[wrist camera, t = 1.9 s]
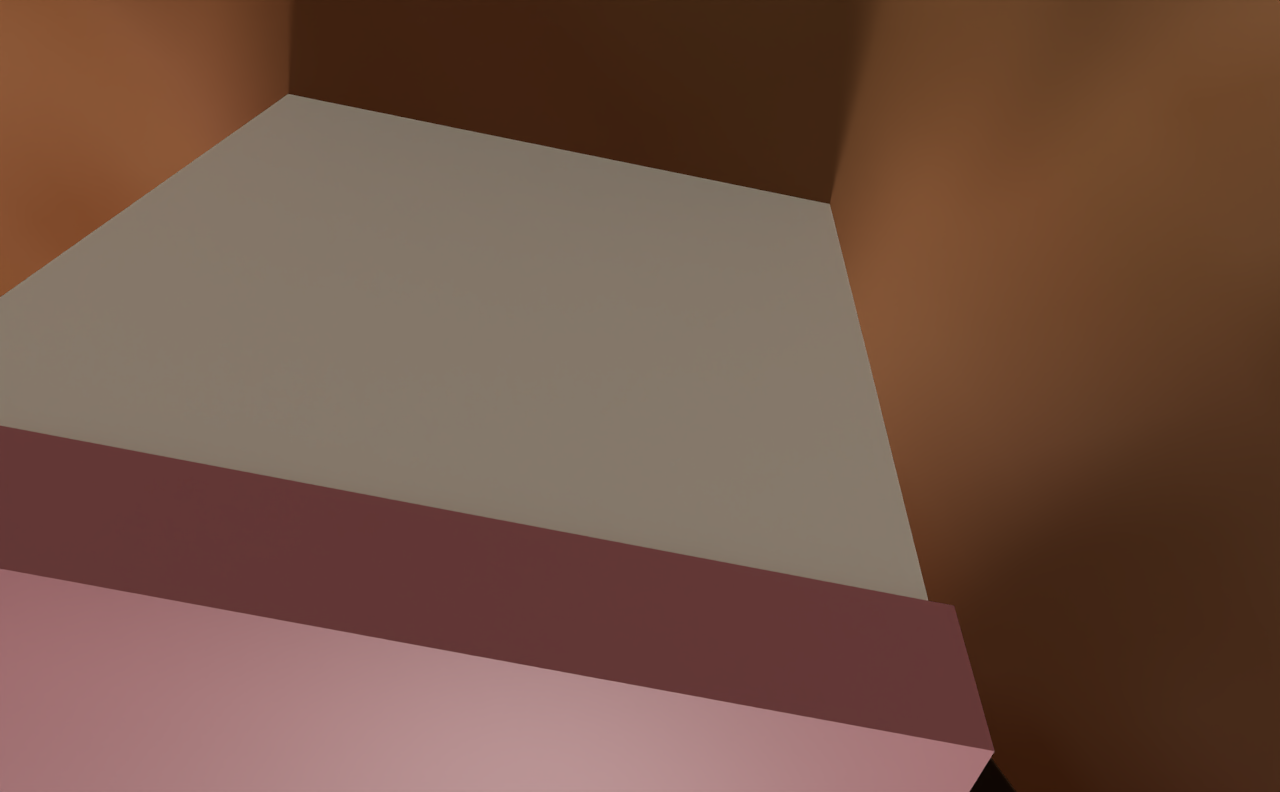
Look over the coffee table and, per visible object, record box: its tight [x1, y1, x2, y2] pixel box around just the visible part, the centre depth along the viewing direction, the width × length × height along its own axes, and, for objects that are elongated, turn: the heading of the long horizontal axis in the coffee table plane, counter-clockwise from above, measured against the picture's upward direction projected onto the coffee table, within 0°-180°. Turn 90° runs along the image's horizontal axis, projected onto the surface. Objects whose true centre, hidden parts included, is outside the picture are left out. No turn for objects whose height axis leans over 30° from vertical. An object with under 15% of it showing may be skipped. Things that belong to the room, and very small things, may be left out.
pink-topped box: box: [0, 94, 994, 792], centre depth 10 cm, size 7×7×8 cm
